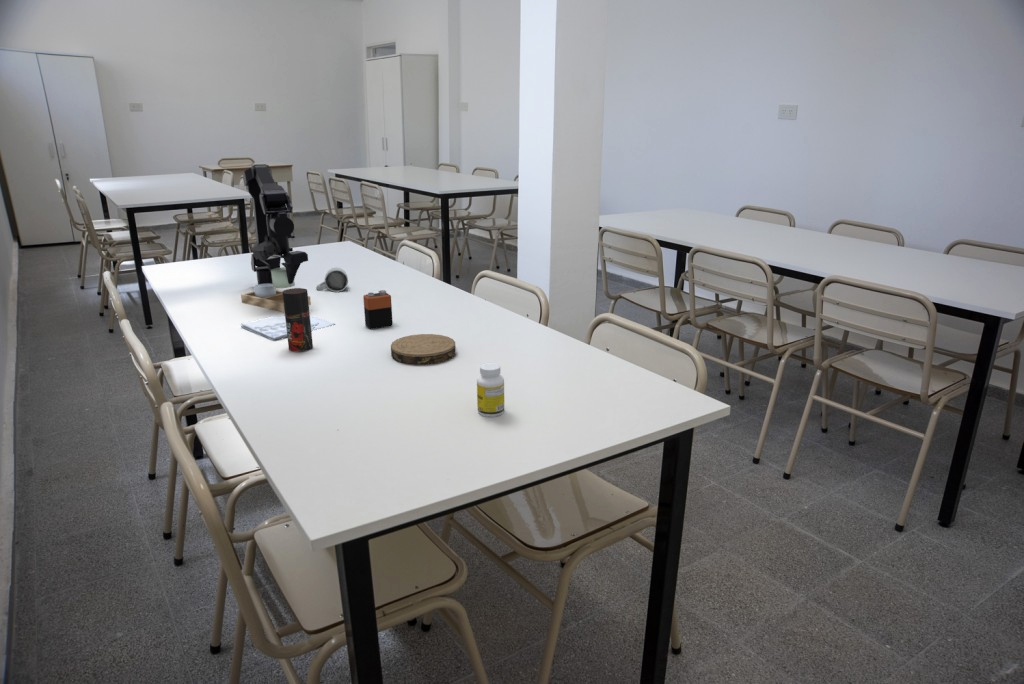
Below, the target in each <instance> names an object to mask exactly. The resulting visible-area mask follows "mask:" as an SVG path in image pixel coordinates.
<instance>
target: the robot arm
mask: <svg viewBox="0 0 1024 684" xmlns="http://www.w3.org/2000/svg"><path fill="white" fill-rule="evenodd" d="M242 174H243V175H242V180H243V182H242V183H243V185H244V187H245V189H246V190H247V192H248V193H249V195H250V196H251V198H252V199H251V200H252V207H253V217H254V226H255V235H256V237H255V238H256V241H255V242H254V245H253V246H252V248H251V251H252V253H251V257H250V265H251V270H252V272H254V273H256V278H257V279H256V280H257V285H258V284H267V283H270V284H273V283H272V274H271V270H272V269H275V268H281V265H282V266H283V267H285V268H286V273H287V278H288V282H289V284H292V283H293V281H294V282H295V277H296V275H297V273H298V270H299V268H300V266H301V264H303V263H305V262H308V261H309V255H308V253H307V252H306V251H302V250H293V248H294V247H290V239H291V238H292V233H293V232H294V230H295V224H294V222H293V220H292V219H291V218H289V217H288V214H292V213H293V208H294V206H293V203H292V201H291V200H292V199H291V197H290V195H289V194H288V192H286V190H285V188H284V187H283V186H282V185H279V184H277V183H276V181H275V179H274V176H273V173H272V169H270V165H269V164H266V163H265V164H264V163H263V164H262V163H261V164H260V163H257V164H253V165H252V164H251V166H250V167H249V168H247V169H246V170H244V172H243V173H242ZM281 259H283V261H284V262H282V263H281Z"/></svg>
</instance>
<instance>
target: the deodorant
mask: <svg viewBox="0 0 1024 684" xmlns="http://www.w3.org/2000/svg"><path fill="white" fill-rule="evenodd" d="M282 291H283V292H282V293H283V302H284V311H285V312H284V316H285V319H286V328H287V337H286V338H287V344H288V350H289V351H290V352H293V353H297V352H298V353H302V352H307V351H310V350H312V349H313V347H314V344H313V335H312V334H313V333H312V332H313V331H312V332H311V323H310V315H311V314H310V305H309V303H308V296H309V295H308V289H307V288H304V287H303V288H301V287H296V288H288V289H284V290H282Z"/></svg>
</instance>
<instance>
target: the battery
mask: <svg viewBox="0 0 1024 684" xmlns="http://www.w3.org/2000/svg"><path fill="white" fill-rule="evenodd" d="M362 299H363V310H364V323H365V327H367V328H368V329H369V330H375V329H376V330H377V329H381V328H383V329H384V328H389V327H392V326H393V325H394V324H393V322H394V321H393V309H392V306H393V305H392V295H391V294H390V293H387V290H385V289H381V290H378V292H377V293H376V292H375V293H374V292H372V291H371V292H368V293H367V294H364V295H363V298H362Z"/></svg>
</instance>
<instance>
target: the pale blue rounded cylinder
mask: <svg viewBox="0 0 1024 684" xmlns="http://www.w3.org/2000/svg"><path fill="white" fill-rule="evenodd" d="M253 290H254V291H255V297H259V298H266V297H270V296H274V295H276V290H277V288H275V287H273V284H270V283H267V284H258V283H257V284H255V285H254V286H253ZM254 291H253V292H254Z"/></svg>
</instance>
